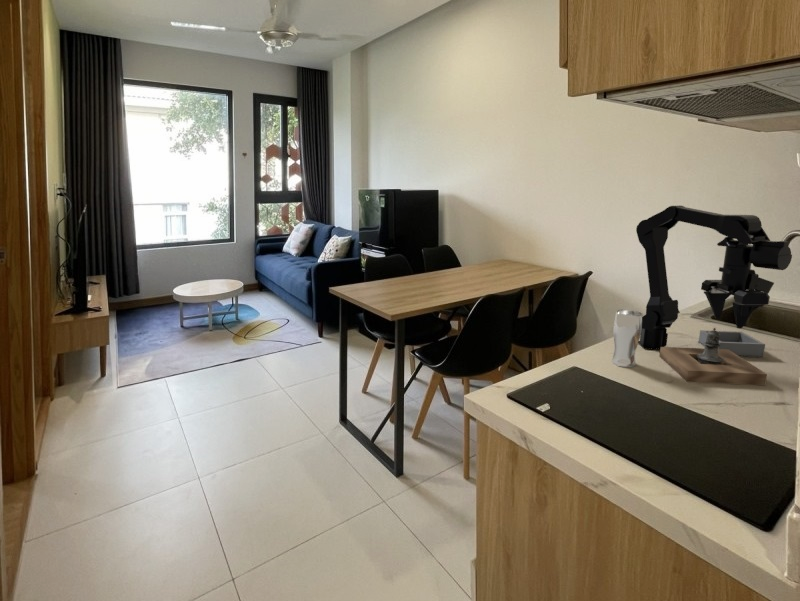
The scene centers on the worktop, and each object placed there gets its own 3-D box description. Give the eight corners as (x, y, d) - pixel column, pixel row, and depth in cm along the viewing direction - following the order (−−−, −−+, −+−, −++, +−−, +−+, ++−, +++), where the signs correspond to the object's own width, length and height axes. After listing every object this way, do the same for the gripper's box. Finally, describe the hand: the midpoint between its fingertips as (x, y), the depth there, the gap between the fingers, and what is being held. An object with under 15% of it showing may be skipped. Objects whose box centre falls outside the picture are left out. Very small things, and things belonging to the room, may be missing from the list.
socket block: (686, 381, 117) (688, 370, 116) (659, 356, 134) (660, 346, 133) (765, 385, 114) (767, 374, 113) (726, 359, 131) (728, 349, 130)
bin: (717, 355, 134) (719, 342, 133) (698, 342, 146) (700, 330, 145) (762, 357, 132) (765, 344, 131) (739, 343, 144) (741, 331, 143)
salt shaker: (698, 372, 122) (705, 330, 119) (692, 364, 127) (698, 323, 125) (724, 375, 120) (731, 331, 117) (716, 367, 126) (723, 325, 123)
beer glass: (631, 370, 124) (637, 317, 121) (605, 363, 129) (611, 312, 126) (641, 363, 129) (647, 312, 125) (615, 357, 134) (621, 307, 130)
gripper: (798, 270, 108) (786, 334, 111) (746, 259, 126) (737, 314, 129) (748, 270, 108) (738, 333, 112) (703, 259, 127) (696, 314, 130)
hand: (728, 323), depth 121 cm, fingers open, 9 cm apart
